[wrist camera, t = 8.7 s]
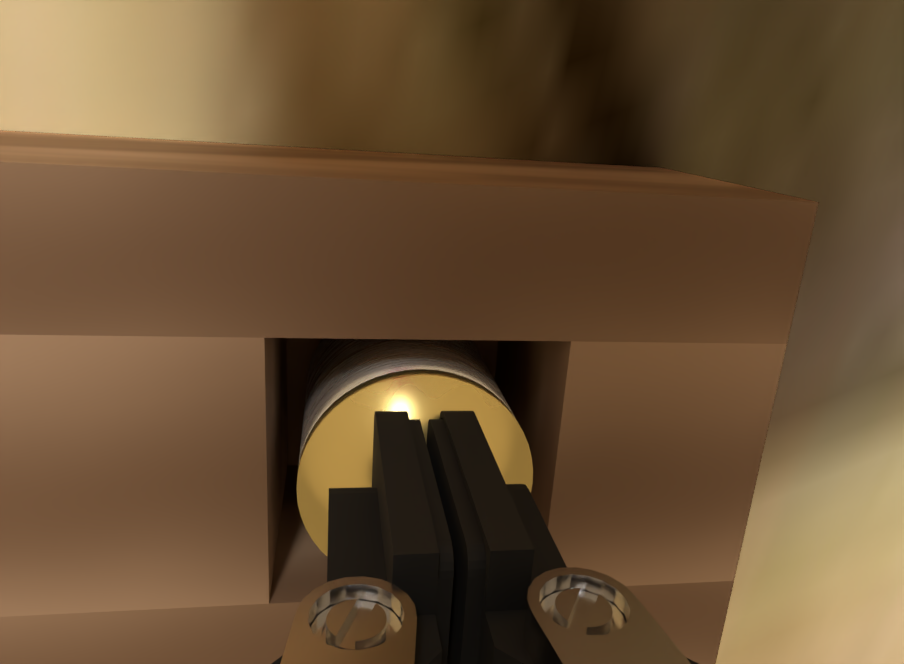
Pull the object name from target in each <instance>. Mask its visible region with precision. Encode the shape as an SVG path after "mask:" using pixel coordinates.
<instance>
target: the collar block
mask: <svg viewBox="0 0 904 664" xmlns="http://www.w3.org/2000/svg"><path fill="white" fill-rule="evenodd" d="M818 204H819V202H816V201H811V200H807V199H802V198H798V197H793V196H788V195H784V194H779V193H775V192H770V191H766V190H761V189H757V188H752V187H748V186H743V185H739V184H734V183H729V182H725V181H720V180H716V179H711V178H707V177H702V176H698V175H693V174H689V173H684V172H680V171H675V170H670V169H666V168H659V167H641V166H623V165H605V164H587V163H570V162H552V161H534V160H516V159H498V158H481V157H463V156H445V155H427V154H410V153H392V152H374V151H356V150H338V149H321V148H303V147H285V146H267V145H249V144H232V143H214V142H196V141H178V140H161V139H143V138H125V137H107V136H89V135H72V134H54V133H36V132H18V131H0V664H272V663H273V662H274V661H276V660H277V659H278V658H280V657H281V656H282V655H283V653H284V650H285V647H286V643H287V640H288V637H289V633H290V630H291V627H292V623H293V620H294V617H295V613H296V611H297V609H298V607H299V605H300V603H301V601H302V600H303V599H304V598H305V597H306V596H307V595H308V594H309V593H310V592H311V591H312V590H314V589H315V588H317V587H319V586H321V585H323V584H325V583H327V556H326V555H325V554H324V553H323V552H322V551H321V550H320V549H319V548H318V547H317V545H316V544H315V543H314V542H313V540H312V538H311V537H310V535H309V533H308V532H307V530H306V528H305V526H304V523H303V521H302V518H301V515H300V511H299V507H298V502H297V475H298V465H299V455H300V446H301V436H302V426H303V416H304V407H305V397H306V387H307V377H308V370H309V366H310V362H311V359H312V356H313V354H314V351H315V349H316V347H317V346H318V344H319V342H320V340H321V339H322V338H331V339H415V340H472V341H473V342H474V344H475V346H476V348H477V350H478V351H479V353H480V355H481V357H482V359H483V360H484V362H485V364H486V366H487V368H488V369H489V371H490V373H491V375H492V376H493V378H494V380H495V382H496V384H497V385H498V387H499V389H500V391H501V393H502V394H503V396H504V398H505V400H506V402H507V403H508V405H509V407H510V409H511V411H512V412H513V414H514V416H515V418H516V420H517V421H518V423H519V425H520V427H521V429H522V430H523V432H524V435H525V437H526V440H527V442H528V444H529V448H530V452H531V456H532V465H533V484H532V489H531V495H532V497H533V499H534V501H535V503H536V505H537V507H538V509H539V511H540V513H541V515H542V517H543V519H544V522H545V524H546V526H547V528H548V530H549V532H550V534H551V536H552V538H553V540H554V542H555V544H556V546H557V548H558V550H559V552H560V554H561V556H562V558H563V560H564V562H565V564H566V566H567V567H578V568H584V569H590V570H594V571H597V572H600V573H603V574H606V575H608V576H610V577H612V578H614V579H615V580H617V581H619V582H620V583H622V584H624V585H625V586H626V587H627V588H628V589H629V590H630V591H631V592H632V593H633V594H634V595H635V596H636V597H637V598H638V600H639V601H640V602H641V603H642V604H643V606H644V607H645V608H646V609H647V611H648V612H649V613H650V614H651V615H652V617H653V618H654V619H655V620H656V622H657V623H658V624H659V625H660V626H661V628H662V629H663V630H664V631H665V632H666V634H667V635H668V636H669V637H670V639H671V640H672V641H673V642H674V643H675V645H676V646H677V647H678V648H679V649H680V651H681V652H682V653H683V654H684V656H685V657H686V658H688V659H690V660H692V661H694V662H696V663H699V664H715V663H716V658H717V654H718V649H719V645H720V640H721V636H722V632H723V627H724V623H725V618H726V614H727V609H728V605H729V600H730V596H731V591H732V587H733V583H734V578H735V574H736V569H737V565H738V560H739V556H740V551H741V547H742V542H743V538H744V534H745V529H746V525H747V520H748V516H749V511H750V507H751V502H752V498H753V493H754V489H755V485H756V480H757V476H758V471H759V467H760V462H761V458H762V453H763V449H764V444H765V440H766V436H767V431H768V427H769V422H770V418H771V413H772V409H773V404H774V400H775V395H776V391H777V387H778V382H779V378H780V373H781V369H782V364H783V360H784V355H785V351H786V346H787V342H788V338H789V333H790V329H791V324H792V320H793V315H794V311H795V306H796V302H797V297H798V293H799V289H800V284H801V280H802V275H803V271H804V266H805V262H806V257H807V253H808V248H809V244H810V240H811V235H812V231H813V226H814V222H815V217H816V213H817V208H818Z"/></svg>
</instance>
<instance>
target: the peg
mask: <svg viewBox="0 0 904 664" xmlns="http://www.w3.org/2000/svg"><path fill="white" fill-rule="evenodd" d="M375 411H407V412H408V416H409V419H420V421H421V425H422V429H423V433H424V437H425V441H426V445H427V429H428V421H429V419H439V417H440V413H441V411H474V413H475V415H476V417H477V419H478V421H479V424H480V426H481V428H482V431H483V433H484V435H485V437H486V440H487V442H488V444H489V447H490V449H491V451H492V453H493V456H494V458H495V460H496V462H497V465H498V467H499V469H500V472H501V474H502V476H503V478H504V481H505V483H506V484H525V485H526V486H527V488H528V489H529V491H530V493H531V489H532V484H533V465H532V456H531V452H530V448H529V444H528V442H527V440H526V437H525V435H524V432H523V430H522V429H521V427H520V425H519V423H518V421H517V420H516V418H515V416H514V414H513V412H512V411H511V409H510V407H509V405H508V403H507V402H506V400H505V398H504V396H503V394H502V393H501V391H500V389H499V387H498V385H497V384H496V382H495V380H494V378H493V376H492V375H491V373H490V371H489V369H488V368H487V366H486V364H485V362H484V360H483V359H482V357H481V355H480V353H479V351H478V350H477V348H476V346H475V344H474V342H473V341H472V340H415V339H331V338H322V339H321V340H320V342H319V344H318V346H317V347H316V349H315V351H314V354H313V356H312V359H311V362H310V366H309V370H308V377H307V387H306V397H305V407H304V416H303V426H302V436H301V446H300V455H299V465H298V475H297V502H298V507H299V511H300V515H301V518H302V521H303V523H304V526H305V528H306V530H307V532H308V533H309V535H310V537H311V538H312V540H313V542H314V543H315V544H316V545H317V547H318V548H319V549H320V550H321V551H322V552H323V553H324V554H325V555H326V556H327V554H328V503H329V488H359V487H372V463H373V434H374V414H375Z"/></svg>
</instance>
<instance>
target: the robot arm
mask: <svg viewBox="0 0 904 664" xmlns="http://www.w3.org/2000/svg"><path fill="white" fill-rule="evenodd" d="M272 664H699V663H696V662H694V661H692V660H690V659H688V658H686V657H685V656H684V654H683V653H682V652H681V651H680V649H679V648H678V647H677V646H676V645H675V643H674V642H673V641H672V640H671V639H670V637H669V636H668V635H667V634H666V632H665V631H664V630H663V629H662V628H661V626H660V625H659V624H658V623H657V622H656V620H655V619H654V618H653V617H652V615H651V614H650V613H649V612H648V611H647V609H646V608H645V607H644V606H643V604H642V603H641V602H640V601H639V600H638V598H637V597H636V596H635V595H634V594H633V593H632V592H631V591H630V590H629V589H628V588H627V587H626V586H625V585H624V584H622V583H620V582H619V581H617V580H615V579H614V578H612V577H610V576H608V575H606V574H603V573H600V572H597V571H594V570H590V569H584V568H578V567H567V566H566V564H565V562H564V560H563V558H562V556H561V554H560V552H559V550H558V548H557V546H556V544H555V542H554V540H553V538H552V536H551V534H550V532H549V530H548V528H547V526H546V524H545V522H544V519H543V517H542V515H541V513H540V511H539V509H538V507H537V505H536V503H535V501H534V499H533V497H532V495H531V493H530V491H529V489H528V488H527V486H526V485H525V484H506V483H505V481H504V478H503V476H502V474H501V472H500V469H499V467H498V465H497V462H496V460H495V458H494V456H493V453H492V451H491V449H490V447H489V444H488V442H487V440H486V437H485V435H484V433H483V431H482V428H481V426H480V424H479V421H478V419H477V417H476V415H475V413H474V411H441V413H440V417H439V419H429V421H428V429H427V445H426V441H425V437H424V433H423V429H422V425H421V421H420V419H409V416H408V412H407V411H375V414H374V434H373V463H372V487H359V488H329V503H328V554H327V583H325V584H323V585H321V586H319V587H317V588H315V589H314V590H312V591H311V592H310V593H309V594H308V595H307V596H306V597H305V598H304V599H303V600H302V601H301V603H300V605H299V607H298V609H297V611H296V613H295V617H294V620H293V623H292V627H291V630H290V633H289V637H288V640H287V643H286V647H285V650H284V653H283V655H282V656H281V657H280V658H278V659H277V660H276V661H274V662H273V663H272Z"/></svg>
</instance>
